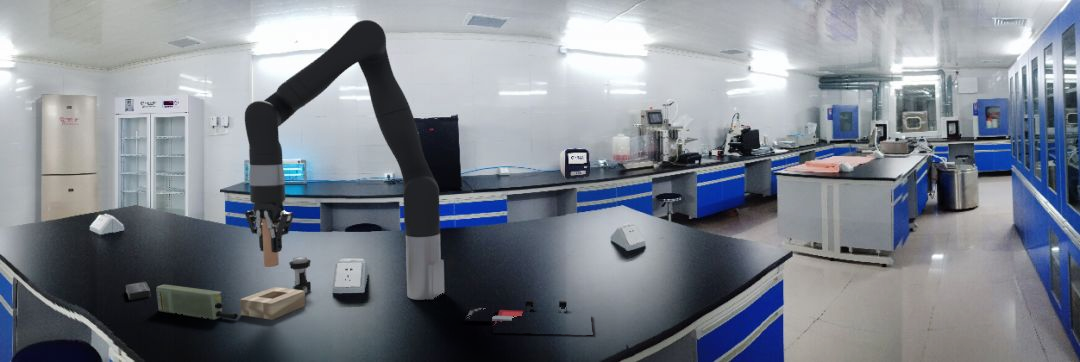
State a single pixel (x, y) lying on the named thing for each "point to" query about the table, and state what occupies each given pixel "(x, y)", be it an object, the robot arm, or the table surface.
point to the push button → (301, 273)
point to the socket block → (272, 303)
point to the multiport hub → (138, 291)
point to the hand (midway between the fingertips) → (270, 250)
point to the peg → (268, 246)
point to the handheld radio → (191, 302)
